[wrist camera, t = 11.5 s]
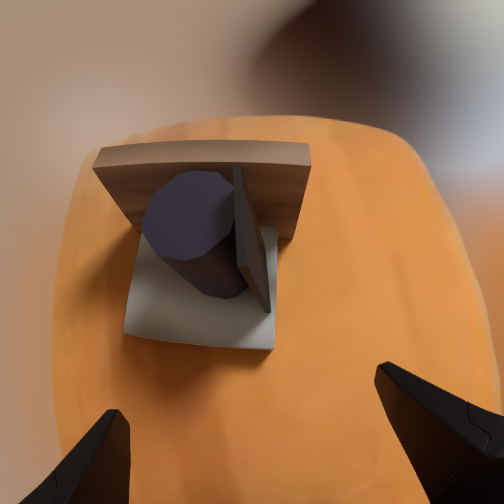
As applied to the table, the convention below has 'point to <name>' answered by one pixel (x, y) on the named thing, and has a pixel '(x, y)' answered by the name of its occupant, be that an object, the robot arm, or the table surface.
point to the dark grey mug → (209, 234)
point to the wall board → (166, 278)
